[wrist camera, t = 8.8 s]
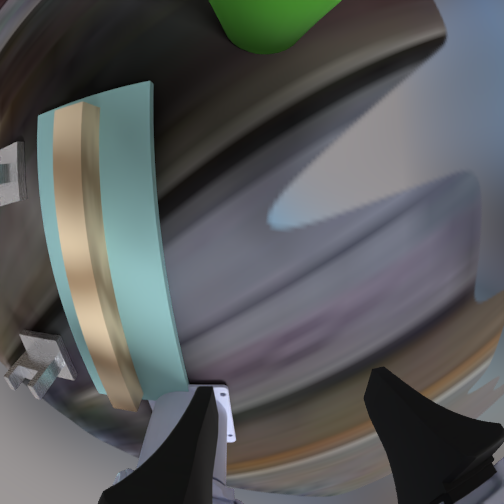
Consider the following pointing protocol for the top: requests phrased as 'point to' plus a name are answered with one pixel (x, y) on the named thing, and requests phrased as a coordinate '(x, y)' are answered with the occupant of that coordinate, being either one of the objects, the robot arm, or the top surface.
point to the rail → (90, 250)
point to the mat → (123, 237)
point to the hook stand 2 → (41, 363)
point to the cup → (269, 21)
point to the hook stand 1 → (12, 174)
